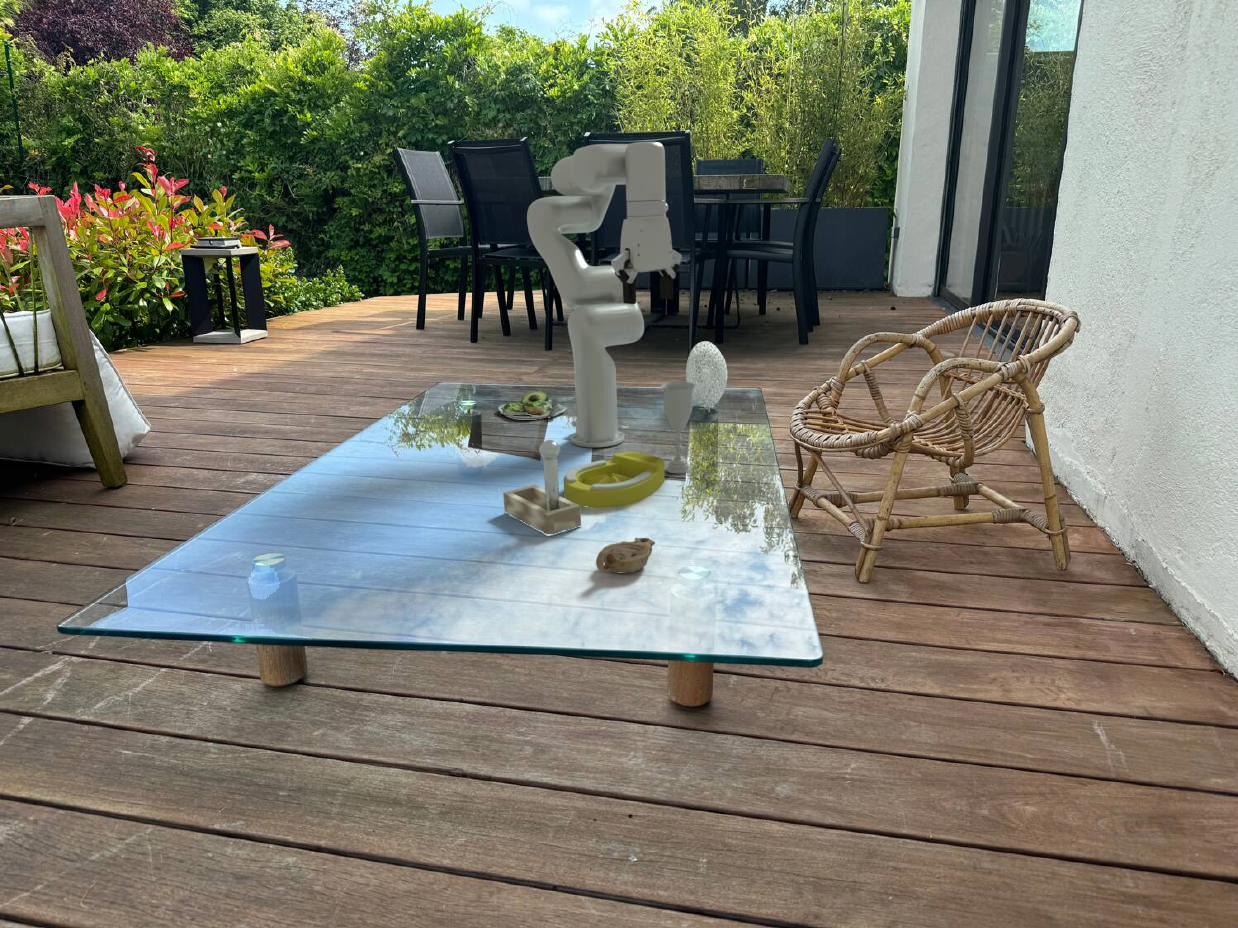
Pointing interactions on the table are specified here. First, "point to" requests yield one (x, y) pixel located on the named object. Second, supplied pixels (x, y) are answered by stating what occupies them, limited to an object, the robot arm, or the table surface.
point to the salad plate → (534, 406)
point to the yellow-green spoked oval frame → (614, 480)
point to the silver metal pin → (551, 473)
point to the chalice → (678, 418)
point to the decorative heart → (706, 374)
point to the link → (541, 510)
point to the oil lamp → (625, 555)
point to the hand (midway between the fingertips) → (648, 301)
